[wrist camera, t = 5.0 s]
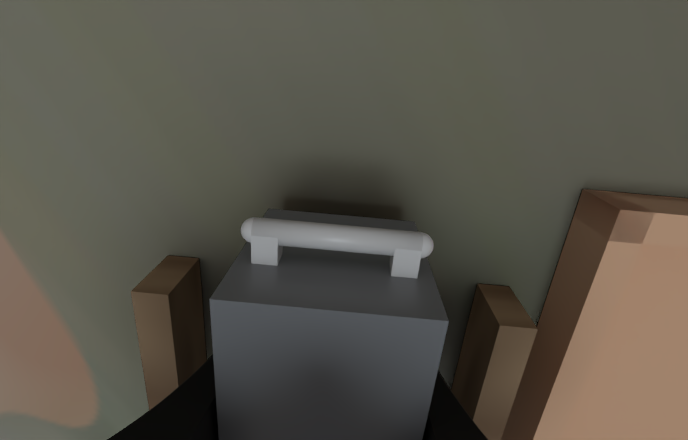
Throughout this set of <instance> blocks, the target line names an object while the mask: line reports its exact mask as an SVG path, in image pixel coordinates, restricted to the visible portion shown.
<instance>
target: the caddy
mask: <svg viewBox="0 0 688 440" xmlns="http://www.w3.org/2000/svg"><path fill="white" fill-rule="evenodd" d="M241 234H242V237H243V238H244V239H245V240H246V241H247V243H246V244H245V246H244V247H243V249H242V250H241V252H240V253H239V255H238V256H237V258H236V259H235V261H234V262H233V264H232V265H231V267H230V269H229V270H228V272H227V273H226V275H225V276H224V278H223V279H222V281H221V282H220V284H219V285H218V287H217V288H216V290H215V291H214V293H213V295H212V296H211V298H210V299H209V300H210V315H211V330H212V346H213V361H214V376H215V391H216V406H217V422H218V437H219V440H422V439H423V435H424V430H425V426H426V421H427V417H428V412H429V408H430V403H431V399H432V394H433V390H434V386H435V381H436V377H437V372H438V368H439V363H440V359H441V354H442V350H443V345H444V341H445V336H446V332H447V328H448V323H449V320H448V317H447V314H446V311H445V308H444V306H443V303H442V300H441V297H440V294H439V291H438V288H437V285H436V282H435V279H434V276H433V273H432V271H431V268H430V265H429V262H428V259H427V256H429V255H430V254H431V252H432V251H433V247H434V244H433V240H432V238H431V237H430V236H429V235H428V234H426V233H424V232H418V230H417V227H416V224H415V222H413V221H402V220H391V219H379V218H368V217H357V216H346V215H335V214H324V213H312V212H301V211H290V210H279V209H268V210H267V212H266V213H265V215H264V217H263V218H260V217H251V218H248V219H247V220H245V221H244V222H243V224H242V226H241Z"/></svg>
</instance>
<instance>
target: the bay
mask: <svg viewBox="0 0 688 440" xmlns="http://www.w3.org/2000/svg"><path fill="white" fill-rule="evenodd" d="M131 296H132V302H133V308H134V315H135V321H136V328H137V334H138V340H139V347H140V353H141V360H142V366H143V372H144V379H145V385H146V392H147V398H148V404H149V410H151V409H152V408H153V407H154V406H156V405H157V404H158V403H160V402H161V401H162V400H163V399H165V398H166V397H167V396H168V395H169V394H171V393H172V392H173V391H174V390H175V389H176V388H178V387H179V386H180V385H181V384H182V383H183V382H184V381H186V380H187V379H188V378H189V377H190V376H191V375H192V374H193V373H194V372H196V371H197V370H198V369H199V368H200V367H201V366H202V365H203V364H204V363H205V362H206V361H207V357H206V344H205V330H204V317H203V303H202V289H201V276H200V262H199V258H190V257H179V256H167V257H166V258H165V259H164V260H163V261H162V262H161V263H160V264H159V265H158V266H157V267H156V268H155V269H154V270H152V271H151V272H150V273H149V274H148V275H147V276H146V277H145V278H144V279H143V280H142V281H141V282H140V283H139V284H138V285H137V286H136V287H135V288H134V289H133V290H132V291H131ZM537 330H538V328H537V327H536V325H535V324H534V322H533V321H532V319H531V318H530V317H529V315H528V314H527V312H526V311H525V309H524V308H523V306H522V305H521V303H520V302H519V300H518V299H517V297H516V296H515V294H514V293H513V291H512V290H511V288H510V287H509V286H498V285H487V284H477V288H476V292H475V296H474V300H473V304H472V308H471V312H470V316H469V320H468V324H467V328H466V332H465V336H464V341H463V345H462V349H461V353H460V357H459V361H458V365H457V369H456V373H455V377H454V381H453V385H452V389H451V391H452V392H453V394H454V395H455V397H456V398H457V400H458V401H459V403H460V404H461V405H462V407H463V408H464V409H465V411H466V412H467V413H468V415H469V416H470V417H471V419H472V420H473V421H474V423H475V424H476V425H477V427H478V428H479V429H480V430H481V432H482V433H483V434H484V435H485V436H486V438H487V439H488V440H501V438H502V435H503V432H504V429H505V426H506V423H507V420H508V417H509V414H510V411H511V408H512V405H513V402H514V399H515V396H516V393H517V390H518V387H519V384H520V381H521V378H522V375H523V372H524V369H525V366H526V363H527V360H528V357H529V354H530V351H531V348H532V345H533V342H534V339H535V336H536V333H537Z"/></svg>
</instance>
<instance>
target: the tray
mask: <svg viewBox="0 0 688 440" xmlns="http://www.w3.org/2000/svg"><path fill="white" fill-rule="evenodd" d="M537 328H538V330H537V333H536V336H535V339H534V342H533V345H532V348H531V351H530V354H529V357H528V360H527V363H526V366H525V369H524V372H523V375H522V378H521V381H520V384H519V387H518V390H517V393H516V396H515V399H514V402H513V405H512V408H511V411H510V414H509V417H508V420H507V423H506V426H505V429H504V432H503V435H502V438H501V440H688V198H679V197H667V196H656V195H645V194H633V193H622V192H611V191H599V190H588V189H583V190H582V193H581V196H580V199H579V202H578V205H577V208H576V211H575V214H574V217H573V220H572V223H571V226H570V229H569V232H568V235H567V238H566V241H565V244H564V247H563V250H562V253H561V256H560V259H559V262H558V265H557V268H556V271H555V274H554V277H553V280H552V283H551V286H550V289H549V292H548V295H547V298H546V301H545V304H544V307H543V310H542V313H541V316H540V319H539V322H538V325H537Z"/></svg>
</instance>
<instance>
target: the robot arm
mask: <svg viewBox="0 0 688 440" xmlns="http://www.w3.org/2000/svg"><path fill="white" fill-rule="evenodd" d="M108 440H219V437H218V422H217V406H216V391H215V376H214V361H213V355H212V356H211V357H210V358H209V359H208V360H207V361H206V362H205V363H204V364H203V365H202V366H201V367H200V368H199V369H198V370H197V371H196V372H194V373H193V374H192V375H191V376H190V377H189V378H188V379H187V380H186V381H184V382H183V383H182V384H181V385H180V386H179V387H178V388H176V389H175V390H174V391H173V392H172V393H171V394H169V395H168V396H167V397H166V398H165V399H163V400H162V401H161V402H160V403H158V404H157V405H156V406H154V407H153V408H152V409H151V410H149V411H148V412H147V413H145V414H144V415H143V416H141V417H140V418H139V419H137V420H136V421H134V422H133V423H131V424H130V425H128V426H127V427H126V428H124V429H123V430H121V431H120V432H118V433H117V434H115V435H114V436H112V437H111V438H109V439H108ZM422 440H488V439H487V438H486V436H485V435H484V434H483V433H482V432H481V430H480V429H479V428H478V427H477V425H476V424H475V423H474V421H473V420H472V419H471V417H470V416H469V415H468V413H467V412H466V411H465V409H464V408H463V407H462V405H461V404H460V403H459V401H458V400H457V398H456V397H455V395H454V394H453V392H452V391H451V389H450V388H449V386H448V385H447V383H446V382H445V380H444V379H443V377H442V376H441V374H440V372H439V371H438V372H437V377H436V381H435V386H434V390H433V394H432V399H431V403H430V408H429V412H428V417H427V421H426V426H425V430H424V435H423V439H422Z"/></svg>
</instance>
